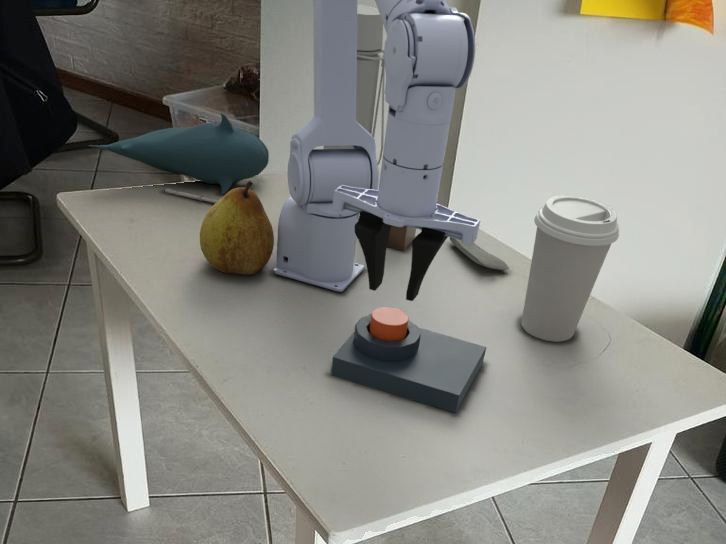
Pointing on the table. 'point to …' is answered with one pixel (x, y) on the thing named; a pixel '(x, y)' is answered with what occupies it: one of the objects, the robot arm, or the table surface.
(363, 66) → the water bottle
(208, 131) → the toy
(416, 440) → the table surface
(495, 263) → the decorative stone
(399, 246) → the walnut block
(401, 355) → the grey base slab
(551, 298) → the coffee cup
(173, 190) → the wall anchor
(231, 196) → the fruit
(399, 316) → the lid button
